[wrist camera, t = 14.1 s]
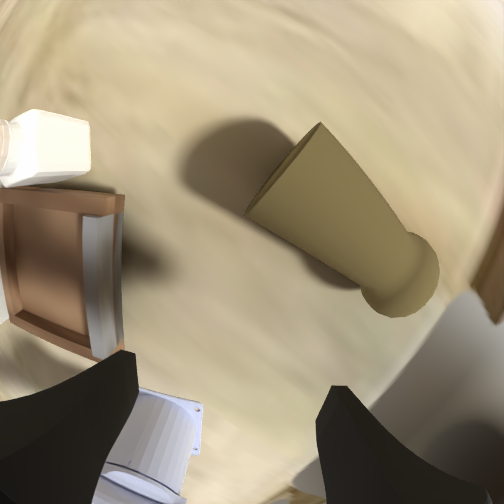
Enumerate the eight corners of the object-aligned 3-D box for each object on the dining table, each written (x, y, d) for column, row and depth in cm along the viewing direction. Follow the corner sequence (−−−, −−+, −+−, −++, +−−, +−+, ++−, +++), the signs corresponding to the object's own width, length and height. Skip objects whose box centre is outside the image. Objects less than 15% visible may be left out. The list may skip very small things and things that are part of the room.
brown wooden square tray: (132, 338, 19) (107, 372, 15) (35, 305, 19) (6, 325, 15) (135, 193, 16) (98, 198, 12) (29, 184, 16) (-9, 189, 12)
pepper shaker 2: (300, 138, 16) (411, 245, 18) (240, 214, 16) (364, 312, 18) (338, 106, 10) (470, 260, 12) (249, 217, 10) (412, 350, 12)
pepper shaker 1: (55, 134, 16) (-39, 126, 6) (93, 119, 15) (-6, 96, 6) (56, 183, 16) (-41, 197, 7) (95, 173, 16) (-11, 179, 7)
